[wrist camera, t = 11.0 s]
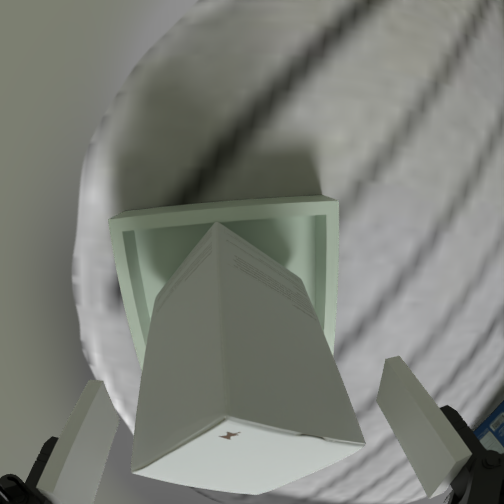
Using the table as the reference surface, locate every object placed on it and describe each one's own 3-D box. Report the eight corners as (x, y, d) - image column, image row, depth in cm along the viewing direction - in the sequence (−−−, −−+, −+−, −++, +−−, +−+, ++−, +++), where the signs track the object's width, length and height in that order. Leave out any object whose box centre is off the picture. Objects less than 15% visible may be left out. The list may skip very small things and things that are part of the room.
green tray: (322, 195, 26) (338, 200, 22) (316, 394, 32) (326, 418, 28) (124, 211, 25) (108, 219, 21) (167, 407, 31) (163, 432, 27)
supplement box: (151, 298, 25) (122, 473, 12) (215, 217, 22) (224, 415, 9) (237, 343, 28) (255, 498, 15) (305, 279, 25) (371, 447, 12)
